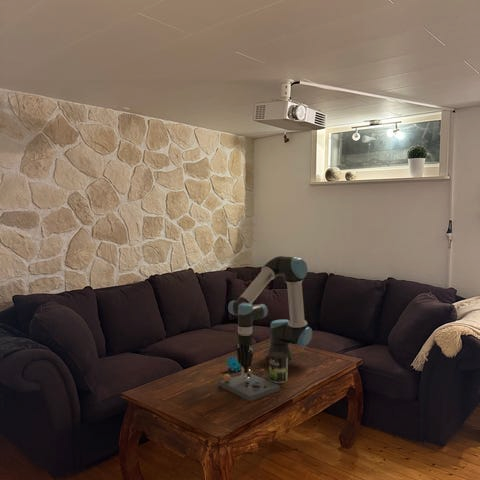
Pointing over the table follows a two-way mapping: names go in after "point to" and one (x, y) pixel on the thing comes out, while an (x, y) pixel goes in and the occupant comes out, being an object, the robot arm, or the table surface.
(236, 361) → the gear
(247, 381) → the steel ball
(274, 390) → the plate
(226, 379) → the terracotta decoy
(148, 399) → the table surface
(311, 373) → the table surface
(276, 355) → the coffee can
